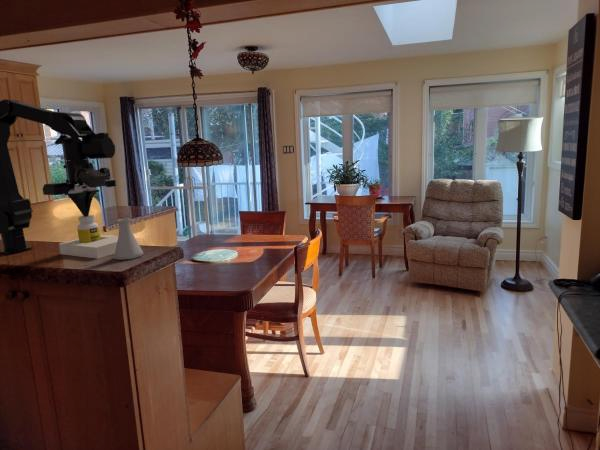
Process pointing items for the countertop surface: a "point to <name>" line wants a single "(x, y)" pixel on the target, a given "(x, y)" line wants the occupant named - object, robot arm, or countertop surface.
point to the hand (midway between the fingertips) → (86, 216)
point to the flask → (126, 242)
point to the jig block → (90, 247)
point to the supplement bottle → (88, 229)
